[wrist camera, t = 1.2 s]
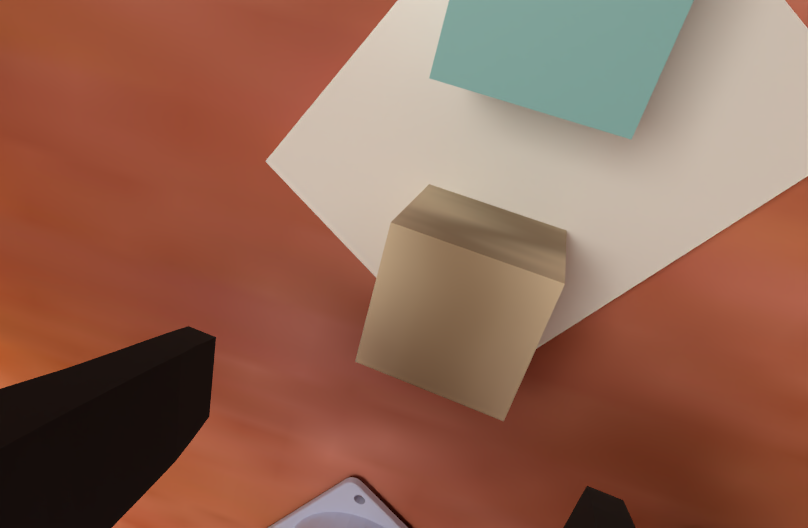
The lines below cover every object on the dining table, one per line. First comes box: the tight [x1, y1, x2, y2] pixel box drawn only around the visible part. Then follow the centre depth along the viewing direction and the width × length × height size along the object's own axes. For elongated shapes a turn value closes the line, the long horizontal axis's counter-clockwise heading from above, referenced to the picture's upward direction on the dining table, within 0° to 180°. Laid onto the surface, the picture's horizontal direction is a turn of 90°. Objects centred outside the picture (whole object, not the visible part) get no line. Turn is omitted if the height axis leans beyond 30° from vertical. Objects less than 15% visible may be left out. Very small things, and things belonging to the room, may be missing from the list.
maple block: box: [355, 184, 567, 421], centre depth 16 cm, size 4×4×4 cm
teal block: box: [429, 0, 694, 139], centre depth 12 cm, size 4×4×4 cm
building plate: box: [266, 0, 808, 349], centre depth 16 cm, size 11×14×1 cm
